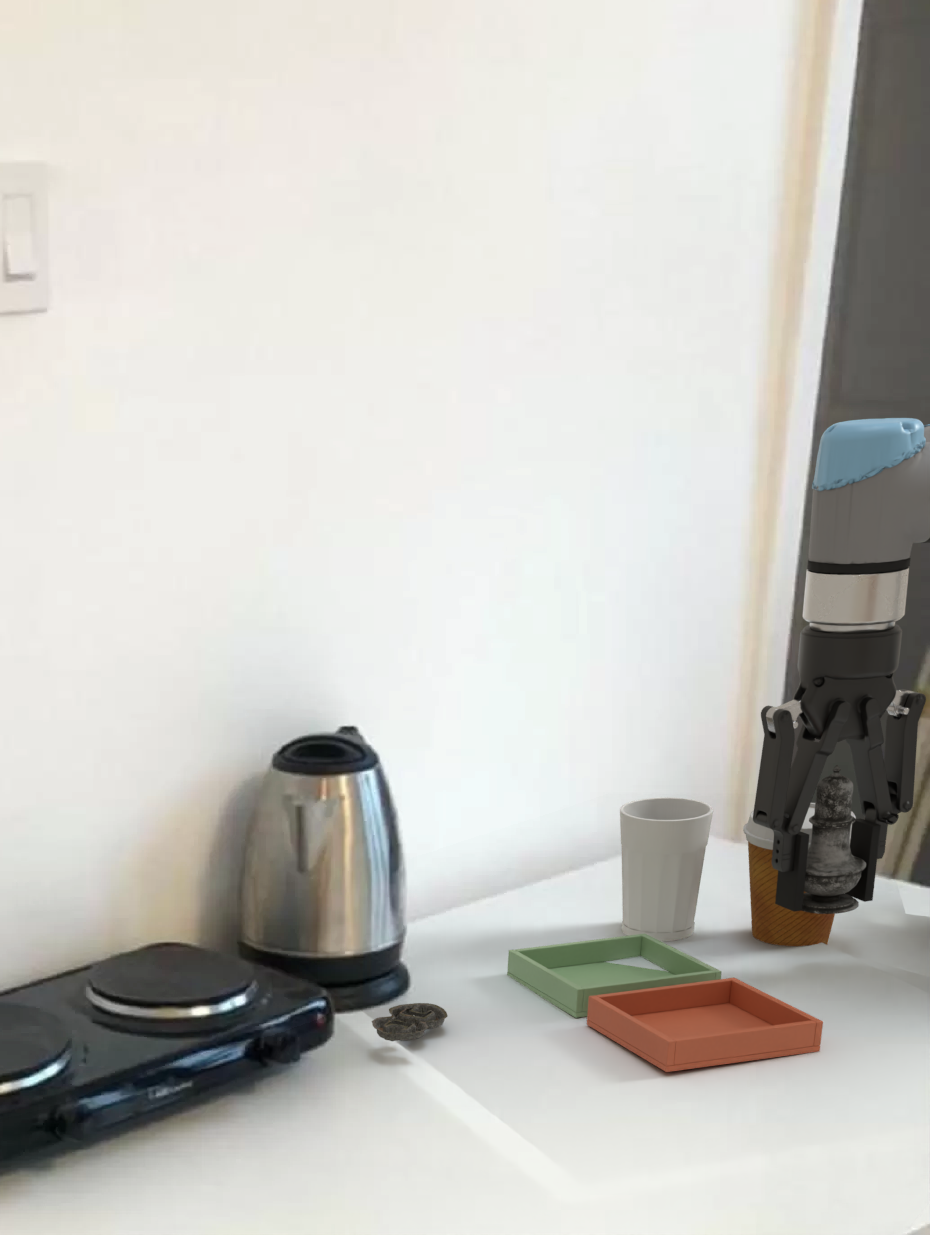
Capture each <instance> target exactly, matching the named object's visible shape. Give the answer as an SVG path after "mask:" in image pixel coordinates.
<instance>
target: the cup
mask: <svg viewBox="0 0 930 1235" xmlns="http://www.w3.org/2000/svg"><path fill="white" fill-rule="evenodd" d="M713 815H714V808H713V806H712V805H711V804H709V803H707V802H705V801H701V800H698V799H693V798H686V797H685V798H684V797H649V798H648V797H647V798H641V799H635V800H632V801H629V802H626V803H624V804H622V805H621V806H620V808H619V825H620V826H619V828H620V845H621V896H622V899H621V900H622V904H621V906H622V922H621V932H622V934H624V936H629V935H637V934H647V935H649V936H651V937H653V938H655V939H657V940H659V941H661V942H673V941H680V940H684V939H688V938H689V937H691V936H693V935H694V933H695V925H696V924H695V922H696V921H695V918H696V910H697V906H698V898H699V893H700V886H701V881H702V880H701V879H702V874H703V868H704V860H705V856H706V849H707V845H708V843H709V839H710V838H709V837H710V833H711V826H712V820H713Z"/></svg>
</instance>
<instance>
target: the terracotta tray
mask: <svg viewBox="0 0 930 1235" xmlns="http://www.w3.org/2000/svg"><path fill="white" fill-rule="evenodd" d="M586 1025H587V1026H588V1027H590V1028H592V1029H593V1030H595V1031H597V1032H598V1033H600V1034H602V1035H604V1036H605V1037H607V1038H608V1039H610V1040H612V1041H613V1042H615V1043H617V1044H618V1045H620V1046H622V1047H623V1048H625V1049H626V1050H629V1051H630V1052H632V1053H633V1054H635V1055H637V1056H639V1057H640V1058H641V1059H643V1060H645V1061H647V1062H648V1063H650V1064H652V1065H653V1066H655V1067H657V1068H659V1069H660V1070H662V1071H664V1072H665V1073H670V1072H678V1071H684V1070H691V1069H700V1068H708V1067H714V1066H721V1065H730V1064H735V1063H737V1064H738V1063H744V1062H751V1061H758V1060H765V1059H773V1058H780V1057H787V1056H788V1057H789V1056H794V1055H795V1056H796V1055H802V1054H811V1053H817V1052H820V1050H821V1043H822V1035H823V1027H824V1021H823V1020H822V1019H819V1018H817V1017H815V1016H814V1015H811V1014H809V1013H807V1012H805V1011H804V1010H803V1011H802V1010H801V1009H799V1008H797V1007H794V1006H793V1005H791V1004H788V1003H786V1002H784V1001H783V1000H781V999H779V998H776V997H774V996H772V995H770V994H768V993H766V992H765V991H762V990H761V989H758V988H756V987H754V986H752V985H750V984H749V983H746V982H744V981H742V980H741V979H738V978H736V977H729V978H721V979H719V980H711V981H703V982H695V983H688V984H680V985H672V986H664V987H656V988H649V989H641V990H633V991H625V992H617V993H609V994H602V995H596V996H595V995H594V996H589V1000H588V1013H587V1016H586Z"/></svg>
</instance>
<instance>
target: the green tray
mask: <svg viewBox="0 0 930 1235" xmlns="http://www.w3.org/2000/svg"><path fill="white" fill-rule="evenodd" d="M638 957H641V958H644V959H645V960H647V961H648V962H651V963H652V964H654V965H656V966H658V967H659V968H661V969H663V970H661V969H654V968H648V967H640V966H634V965H628V964H623V963H621V964H620V963H616V962H615V963H614V962H612V961H617V960H625V959H632V958H638ZM506 975H507V976H508V977H510V978H511V979H513V980H514V981H516V982H517V983H518V984H520V985H522V986H524V987H525V988H526V989H528V990H530V991H531V992H533V993H534V994H536V995H538V996H539V997H541V998H542V999H544V1000H545V1001H547V1002H549V1003H550V1004H552V1005H553V1006H555V1007H557V1008H558V1009H560V1010H561V1011H563V1012H564V1013H567V1014H568V1015H569V1016H571V1017H573V1018H575V1019H577V1018H587V1013H588V1000H589V996H594V995H595V996H596V995H602V994H609V993H617V992H625V991H633V990H641V989H649V988H656V987H664V986H672V985H680V984H688V983H695V982H703V981H711V980H719V979H722V970H720V969H718V968H716V967H714V966H712V965H709V964H708V963H706V962H704V961H702V960H700V959H698V958H696V957H693V956H691V955H690V954H687V953H685V952H683V951H681V950H679V949H677V948H675V947H674V946H671V945H669V944H667V943H666V942H664V941H659V940H657V939H655V938H653V937H651V936H649V935H647V934H637V935H629V936H627V935H621V936H614V937H605V938H598V939H597V938H596V939H589V940H580V941H572V942H565V943H557V944H547V945H539V946H531V947H524V948H517V949H508V956H507V973H506Z"/></svg>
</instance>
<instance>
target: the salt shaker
mask: <svg viewBox="0 0 930 1235" xmlns="http://www.w3.org/2000/svg"><path fill="white" fill-rule="evenodd" d="M831 771H832V772H833V773H831V774H830V775H828V776H825V777H822V778H821V779H819V782H818V784H817V787H816V790H815V792H816V793H815V801H814V803H815V813H814V815H813V816H812V817H810V818H809V822H810V823H812V824H813V825H812V837H811V844H810V847H809V849H808V855H807V865H806V876H805V886H804V891H805V892H807V893H804V896H803V906H802V911H804V912H809V913H817V914H835V915H836V914H837V915H838V914H843V913H849V912H852V911H854V910H856V909H857V908H859V905H860V902H859V900H858V899H856V898H854V897H852V896H850V895H848V894H845V893H847V892H849V891H850V890H851V889H852V888H854V887H855V886H856V885H857V883H858V881H859V879H860V877H861V871H862V870H864V869H865V868H866V862H865V861H864V860H862V859H860V858H858V857H855V856H853V855H852V854H851V849H850V843H849V840H850V829H851V824H853V823H854V822H855V818H854V817H853V816H851V811H852V806H853V795H854V783H853V781H852V780H851V778H849V777H847V776H844V775H843V774H841V773H840V772H841V771H842V769H841V768H840V766H839V765H838V764H836V765H835V766H834V767H833V768H832V769H831Z"/></svg>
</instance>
